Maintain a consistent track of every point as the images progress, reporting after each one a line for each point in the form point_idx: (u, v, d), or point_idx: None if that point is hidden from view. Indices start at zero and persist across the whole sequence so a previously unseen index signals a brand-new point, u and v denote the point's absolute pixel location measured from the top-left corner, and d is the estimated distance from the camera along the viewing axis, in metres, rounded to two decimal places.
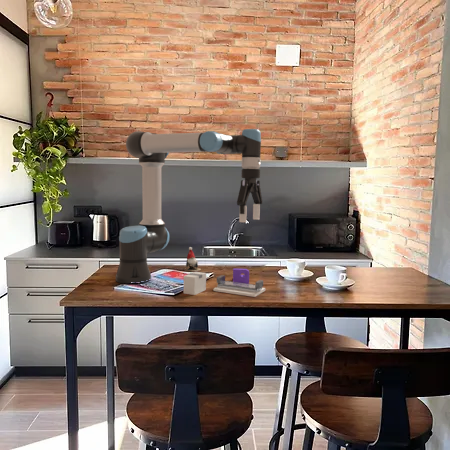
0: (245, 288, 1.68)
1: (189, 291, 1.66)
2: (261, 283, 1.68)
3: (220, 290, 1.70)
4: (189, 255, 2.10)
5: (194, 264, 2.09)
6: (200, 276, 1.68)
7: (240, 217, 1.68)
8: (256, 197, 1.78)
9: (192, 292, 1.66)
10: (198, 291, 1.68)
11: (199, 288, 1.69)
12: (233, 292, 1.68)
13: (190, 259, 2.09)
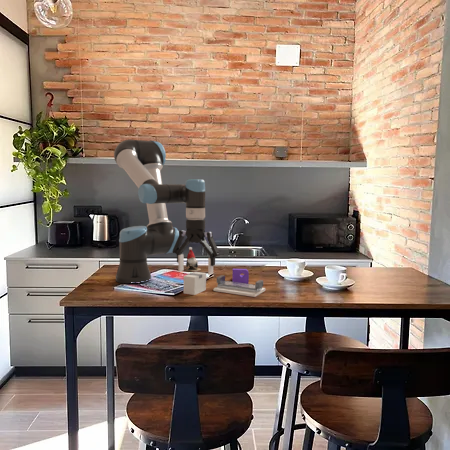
0: (245, 288, 1.68)
1: (189, 291, 1.66)
2: (261, 283, 1.68)
3: (220, 290, 1.70)
4: (189, 255, 2.10)
5: (194, 264, 2.09)
6: (200, 276, 1.68)
7: None
8: None
9: (192, 292, 1.66)
10: (198, 291, 1.68)
11: (199, 288, 1.69)
12: (233, 292, 1.68)
13: (190, 259, 2.09)
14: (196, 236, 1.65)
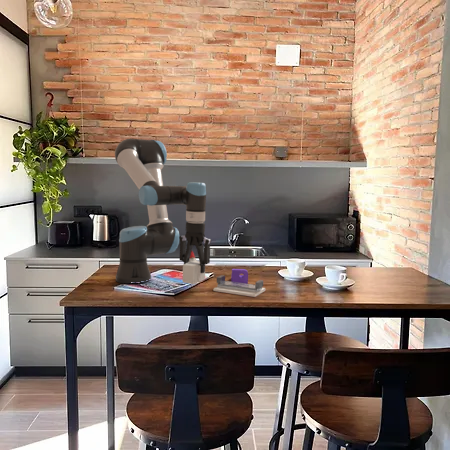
0: (245, 288, 1.68)
1: (188, 280, 1.66)
2: (261, 283, 1.68)
3: (220, 290, 1.70)
4: None
5: None
6: None
7: None
8: None
9: (191, 281, 1.66)
10: (197, 280, 1.68)
11: None
12: (233, 292, 1.68)
13: (190, 259, 2.09)
14: (195, 239, 1.66)
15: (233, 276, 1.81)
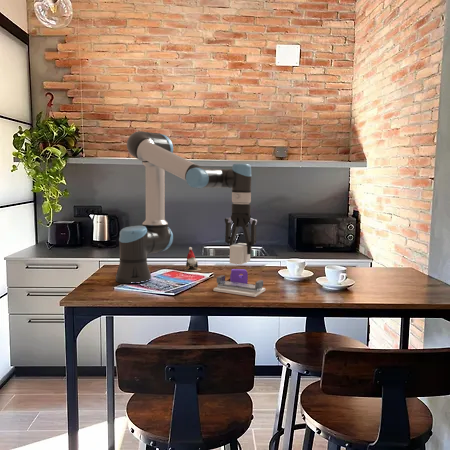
0: (245, 288, 1.68)
1: (235, 260, 1.67)
2: (261, 283, 1.68)
3: (220, 290, 1.70)
4: (189, 255, 2.10)
5: (194, 264, 2.09)
6: None
7: None
8: None
9: (238, 262, 1.66)
10: (244, 261, 1.69)
11: None
12: (233, 292, 1.68)
13: (190, 259, 2.09)
14: (242, 220, 1.67)
15: (233, 276, 1.81)
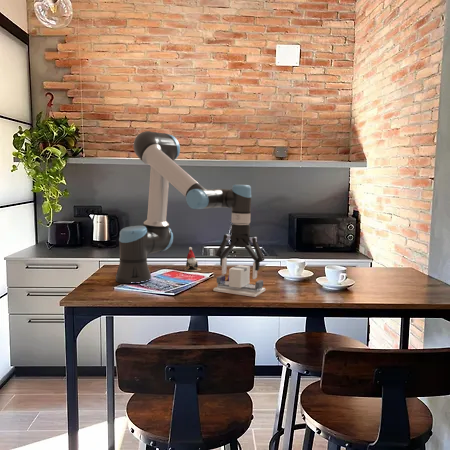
0: (245, 288, 1.68)
1: (235, 284, 1.68)
2: (261, 283, 1.68)
3: (220, 290, 1.70)
4: (189, 255, 2.10)
5: (194, 264, 2.09)
6: (245, 269, 1.70)
7: None
8: None
9: (238, 285, 1.67)
10: (243, 284, 1.70)
11: (244, 281, 1.71)
12: (233, 292, 1.68)
13: (190, 259, 2.09)
14: (241, 241, 1.68)
15: None
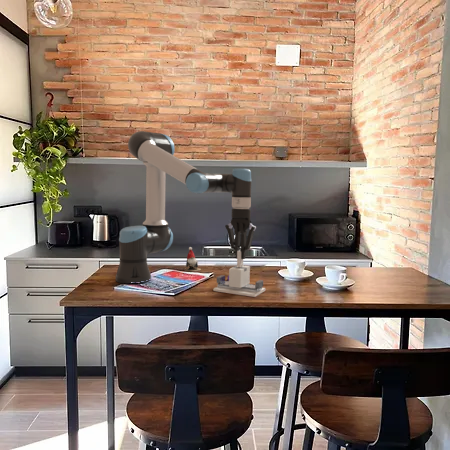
0: (245, 288, 1.68)
1: (235, 284, 1.68)
2: (261, 283, 1.68)
3: (220, 290, 1.70)
4: (189, 255, 2.10)
5: (194, 264, 2.09)
6: (245, 269, 1.70)
7: None
8: None
9: (238, 285, 1.67)
10: (243, 284, 1.70)
11: (244, 281, 1.71)
12: (233, 292, 1.68)
13: (190, 259, 2.09)
14: (241, 225, 1.67)
15: None
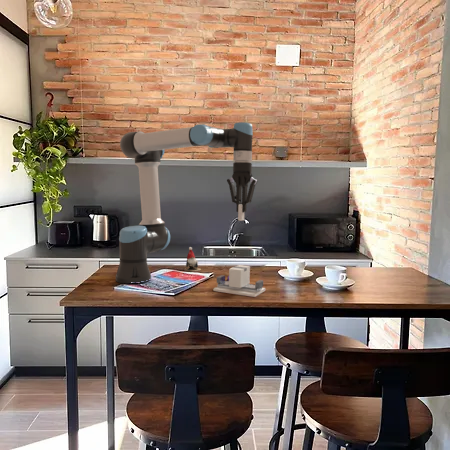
0: (245, 288, 1.68)
1: (235, 284, 1.68)
2: (261, 283, 1.68)
3: (220, 290, 1.70)
4: (189, 255, 2.10)
5: (194, 264, 2.09)
6: (245, 269, 1.70)
7: None
8: None
9: (238, 285, 1.67)
10: (243, 284, 1.70)
11: (244, 281, 1.71)
12: (233, 292, 1.68)
13: (190, 259, 2.09)
14: (243, 178, 1.71)
15: None
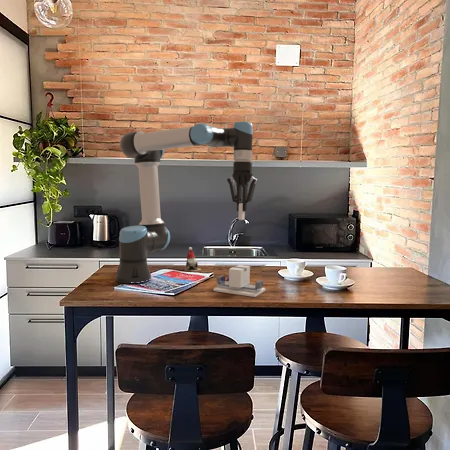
0: (245, 288, 1.68)
1: (235, 284, 1.68)
2: (261, 283, 1.68)
3: (220, 290, 1.70)
4: (189, 255, 2.10)
5: (194, 264, 2.09)
6: (245, 269, 1.70)
7: None
8: None
9: (238, 285, 1.67)
10: (243, 284, 1.70)
11: (244, 281, 1.71)
12: (233, 292, 1.68)
13: (190, 259, 2.09)
14: (243, 178, 1.71)
15: None
